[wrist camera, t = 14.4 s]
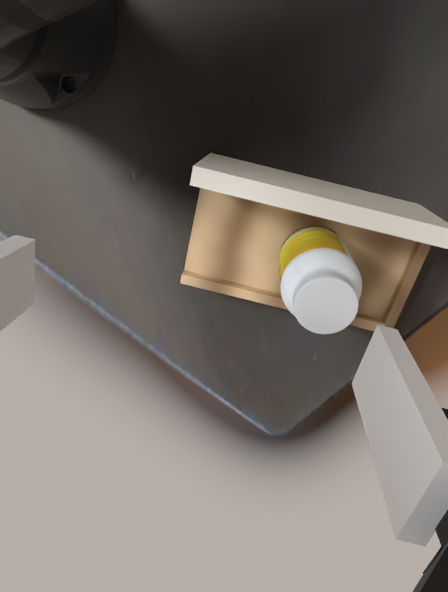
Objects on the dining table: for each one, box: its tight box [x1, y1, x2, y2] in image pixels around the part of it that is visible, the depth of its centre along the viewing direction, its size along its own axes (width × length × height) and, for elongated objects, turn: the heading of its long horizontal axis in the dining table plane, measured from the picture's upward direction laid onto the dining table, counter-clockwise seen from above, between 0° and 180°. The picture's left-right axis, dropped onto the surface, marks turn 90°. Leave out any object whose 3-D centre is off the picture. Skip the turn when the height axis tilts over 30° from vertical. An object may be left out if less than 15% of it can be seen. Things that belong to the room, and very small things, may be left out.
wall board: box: [190, 153, 448, 249], centre depth 37 cm, size 21×2×10 cm, turn 77°
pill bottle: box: [279, 225, 362, 334], centre depth 36 cm, size 6×6×12 cm
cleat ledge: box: [180, 188, 431, 331], centre depth 42 cm, size 22×11×4 cm, turn 77°
